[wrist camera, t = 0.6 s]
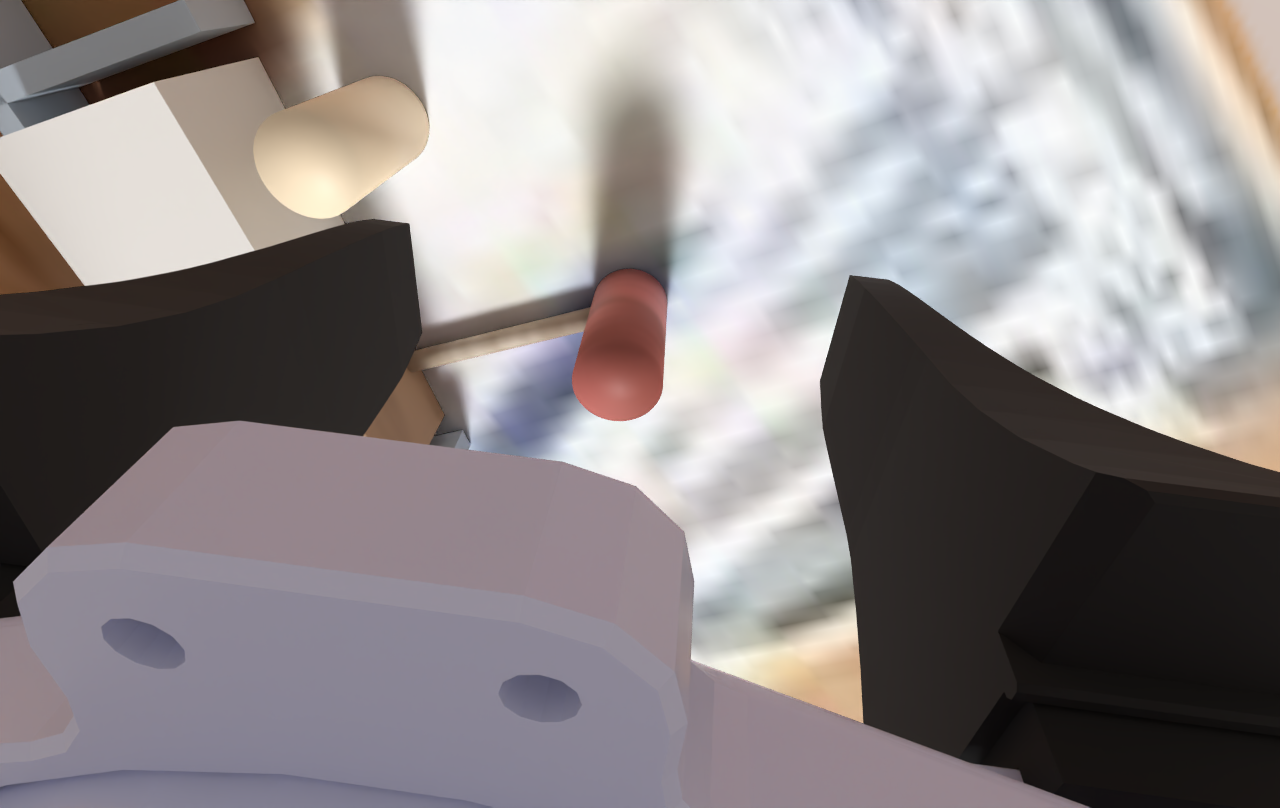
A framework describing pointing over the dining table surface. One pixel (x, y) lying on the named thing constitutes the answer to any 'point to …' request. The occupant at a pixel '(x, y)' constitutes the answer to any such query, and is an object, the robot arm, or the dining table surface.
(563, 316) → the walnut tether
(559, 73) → the dining table surface
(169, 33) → the lane rack
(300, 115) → the white block with peg
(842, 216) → the dining table surface
